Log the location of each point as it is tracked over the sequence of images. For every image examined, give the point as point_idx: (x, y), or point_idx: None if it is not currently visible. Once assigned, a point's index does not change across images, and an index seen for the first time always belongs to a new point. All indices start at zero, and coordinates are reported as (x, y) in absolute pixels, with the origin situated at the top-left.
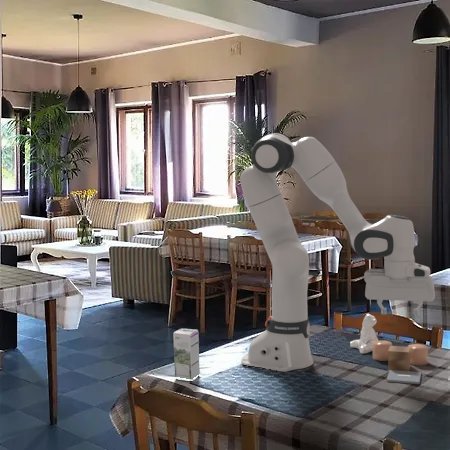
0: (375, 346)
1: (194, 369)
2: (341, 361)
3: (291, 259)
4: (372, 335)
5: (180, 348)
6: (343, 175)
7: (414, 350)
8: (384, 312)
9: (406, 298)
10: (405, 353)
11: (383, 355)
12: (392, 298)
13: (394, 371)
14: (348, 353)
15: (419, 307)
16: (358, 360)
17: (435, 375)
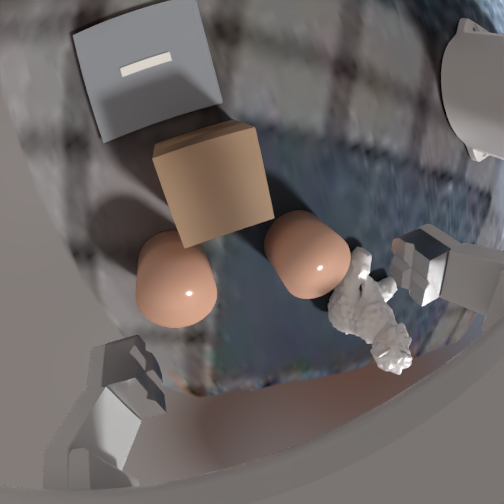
0: (332, 232)
1: None
2: (392, 145)
3: None
4: (359, 316)
5: None
6: None
7: (172, 258)
8: (416, 237)
9: (248, 501)
10: (169, 151)
11: (290, 222)
12: (482, 363)
13: (198, 93)
14: (388, 228)
15: (73, 419)
16: (354, 178)
17: (59, 162)
